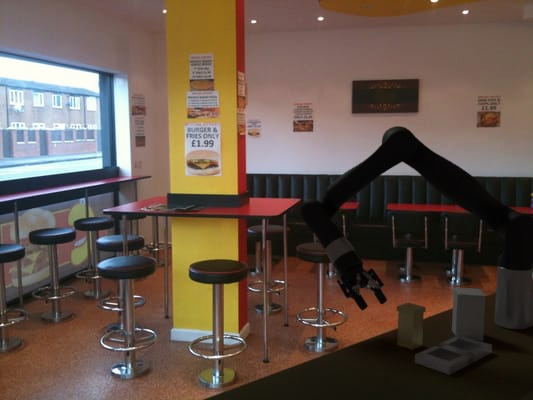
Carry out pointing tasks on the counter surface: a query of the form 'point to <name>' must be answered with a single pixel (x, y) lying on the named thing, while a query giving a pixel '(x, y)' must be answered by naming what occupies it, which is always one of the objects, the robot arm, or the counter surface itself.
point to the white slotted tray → (453, 354)
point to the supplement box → (468, 313)
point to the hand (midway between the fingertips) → (374, 305)
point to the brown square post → (410, 325)
